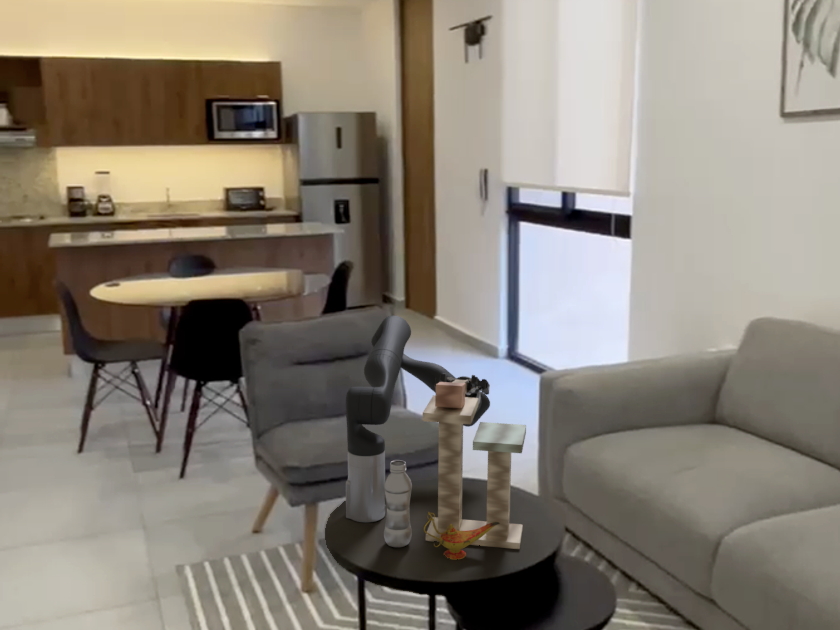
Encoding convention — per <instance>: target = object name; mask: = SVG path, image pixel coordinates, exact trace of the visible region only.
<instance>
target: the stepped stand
mask: <svg viewBox="0 0 840 630" xmlns="http://www.w3.org/2000/svg"><path fill="white" fill-rule="evenodd" d="M435 396H436V394H434V395H432V397H431V398H430V400H429V402H428V403H427V405H426V406H425V408H424V410H423V411H422V422H428V423H430V422H431V423H438V465H437V467H438V471H437V472H438V474H437V476H438V477H437V479H438V481H437V482H438V484H437V485H438V486H437V487H438V488H437V489H438V490H437V496H438V497H437V516H435V518H434V516H432V518H434V521H433V522H435V526H436V529H437V531H439V533H443V532H445V531H446V530H448V529H449V528H450V527H449V526H450V524H452V525H453V527H454V528H455V529H456V530H459V531H469V530H475V529H478V528H480V527H482V526H485V525H487V524H489V523H492V522H500V524H498V525H496V526H494V527H493V528H492V529H490V530H489V531H488V532H487V533H486V534H484V535H483V536H482V537H481V538H479V539H478V540H476V541H475V542H473V543H471V544H470V545H469V546H479V545H480V546H481V547H489V548H490V547H492V548H504V549H512V550H513V549H514V550H520V548H521V543H522V535H523V524H521V523H511V522H510V520H511V519H510V518H511V517H510V516H511V515H510V514H511V481H512V478H511V475H512V470H511V469H512V454H523V450H524V444H525V441H526V440H525V439H526V434H527V425H526V424H519V423H518V424H514V423H499V422H485V421H480V422H479V423H478V426H477V430H476V432H475V435H474V437H473V439H472V451H480V452H481V451H484V452H487V480H486V481H487V484H486V489H487V490H486V521H483V520H474V519H463V466H464V465H463V461H464V459H463V457H464V451H463V450H464V426H463V424H471V423H472V420H473V418H474V416H475V413H476V411H477V408H478V399H479V398H471V397H465V405H464V406H463V407H462V408H452V407H436V406H435ZM428 525H429V526H428V527H427V530H426V532H427V533H429V534H431V535H433V536H435V537H437V538H439V539H440V536H441V534H438V533H437V532H436V531H435V529H434V526H433V523H432V520H431V521H430V522H429V524H428ZM448 527H449V528H448ZM447 528H448V529H447ZM425 541H427V542H434V541H437V542H436V543H440V541H439V540H438V539H436V538H434V537H432V536H430V535H428V534H426V533H425Z"/></svg>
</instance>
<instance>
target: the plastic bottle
mask: <svg viewBox="0 0 840 630" xmlns="http://www.w3.org/2000/svg"><path fill="white" fill-rule="evenodd" d="M406 471H407V463H406V461H404V460H400V459H394V460H392V461H390V463H389V472H390V473H389V474H388V476H387V477H386V478H385V484H384V489H385V507H386V514H385V525H384V530H383V537H384V542H386V544H387V545H388V546H389V547H391V548H392V547H393V548H403V547H405V546H407V545H409V543H410V542H411V541H412V536H413V533H412V532H413V531H412V526H411V519H410V518H411V517H410V505H411V504H410V503H411V494H412V488H413V484H412V480H411V478H410V477H409V475H408V474H407V473H406Z"/></svg>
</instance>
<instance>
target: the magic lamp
mask: <svg viewBox="0 0 840 630" xmlns="http://www.w3.org/2000/svg"><path fill="white" fill-rule="evenodd" d="M427 513H428V514H427V520H428V521H427V522H426V523H425V525H424V526H423V532H424V533H425V535H426V534H428V535H430V536H432V537H434V538H436V539H438V540H439V541H440V542H438V543H439V544H438V545H435V542H434V543H433V546H434V547H435V548H438V547H439V546H441V545H442V546H443V547H444V548H446V550H445V551H444V552H445V553H444V552H443V556H444V555H445V556H446V557H447V558H446V557H445V556H444V557H445V558H446V559H448V558H450V559H449V560H454V561H456V560H457V559H458V560H461V559H464V558H465V557H466V556H467V553H466V551H464V550H463V549H465V548H466V547H468V546H471V545H470V544H471V543H473V542H475V541H476V540H478V539H479V538H481V537H482V536H483V535H484V534H486V533H487V532H488V531H489V530H490V529H492V528H493V527H494V526H496V525H498V524H500V522H492V523H489V524H487V525H485V526H482V527H480V528H478V529H475V530H469V531H459V530H456V529H455V528H454V527H453V525H452V524H450V526H449V527H450V528H449V527H448V528H449V529H448V528H447V529H448V530H446V531H445V532H443V533H439V531H437V529H436V526H435V522H433V521H434V518H435V517H436V515H435V513H434V512H430V511H427ZM429 517H430V518H429ZM433 517H434V518H433ZM431 520H432V523H433V526H434V529H435V531H436V532H437V533H438V534H441V536H440V539H439V538H437V537H435V536H433V535H431V534H429V533H427V530H426V528H427V525H429V524H430V523H431Z"/></svg>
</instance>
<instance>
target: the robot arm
mask: <svg viewBox="0 0 840 630" xmlns="http://www.w3.org/2000/svg"><path fill="white" fill-rule="evenodd" d="M411 336H412V329H411V326H410V324H409V323H408V322H407V320H406V319H405V318H403V317H402V316H399V315H389V316H386V317H385V318H384V319H383V320H382V321H381V323H380V324H379V326H378V327H377V330H376V331H375V332H374V334H373V336H372V337H371V345H372V348H371V350H370V353H369V354H368V356H367V359H366V362H365V365H364V369H363V373H364V374H363V375H364V377H365V380H366V381H367V383H368V384H369V386H351V387H349V388H348V389H347V392H346V395H345V416H346V418H345V420H346V434H347V435H346V436H347V441H346V443H347V480H346V481H345V518H346V519H350V520H352V521H355V522H358V523H373V522H374V523H375V522H377V521H380V520H382V519H383V518H384V517H386V495H385V489H384V484H385V481H386V442H385V441H386V440H385V439H384V437H382V436H381V435H379V434H377V433H375V432H373V431H371V430H369V429H368V428H366V427H365V426H366V425H367V426H369V425H370V426H378V425H384V424H385V423H386V422H388V420H389V417H390V415H391V410H392V401H393V397H394V396H393V395H394V391H395V390H394V389H395V386H396V383H397V380H398V377H399V374H400V370H401V369H402V370H403V371H405V372H407V373H408V374H411V376H413V377H415V378H417V380H419V381H420V382H421V383H424V384H425V386H427V387H428V388H429V389H430V390H432V392H434V393H435V394H436V384H438V383H439V382H453V381H455V380H468V381H467V393H466V394H465V397H471V398H479V399H478V408H477V411H476V413H475V416H474V418H473V420H472V423H471V424H463V427H472V426H475V424H476V423H477V422H478V421H479V420H480V419H481V418H482V416H484V415H485V414H486V412H487V411H488V410H489V408H490V407H491V401H490V399H489V394H490V383H489V381H488V380H487V379H485V378H482V379H481V380H480V378H478V376H476V375H474V374H472V375H471V377H470V376H464V375H462V376H459V377H455V376H454V375H453V373H451V372H450V371H449V370H447V369H446V368H445V367H443V366H442V365H440V364H437V363H435V362H429V361H422V360H417V359H414V358H411V357H409V356H407V355H406V354H405V347H406V345H407V343H408V341H409V340H410V338H411Z"/></svg>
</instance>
